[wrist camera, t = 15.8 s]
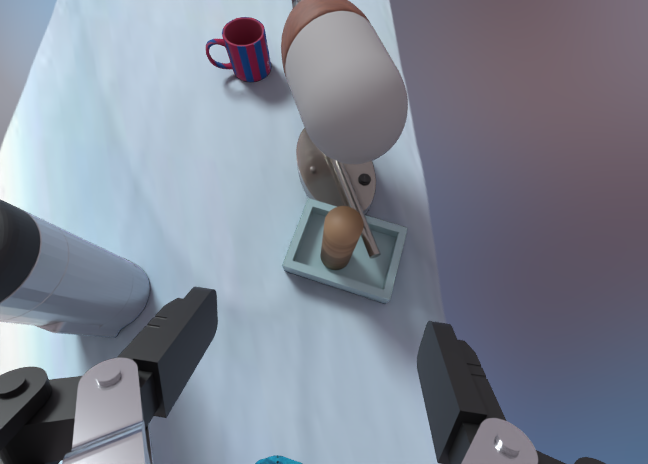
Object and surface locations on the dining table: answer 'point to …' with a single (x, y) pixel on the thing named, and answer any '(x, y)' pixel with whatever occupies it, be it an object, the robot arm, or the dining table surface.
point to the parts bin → (361, 271)
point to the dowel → (340, 236)
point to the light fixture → (341, 102)
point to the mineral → (277, 460)
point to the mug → (244, 49)
